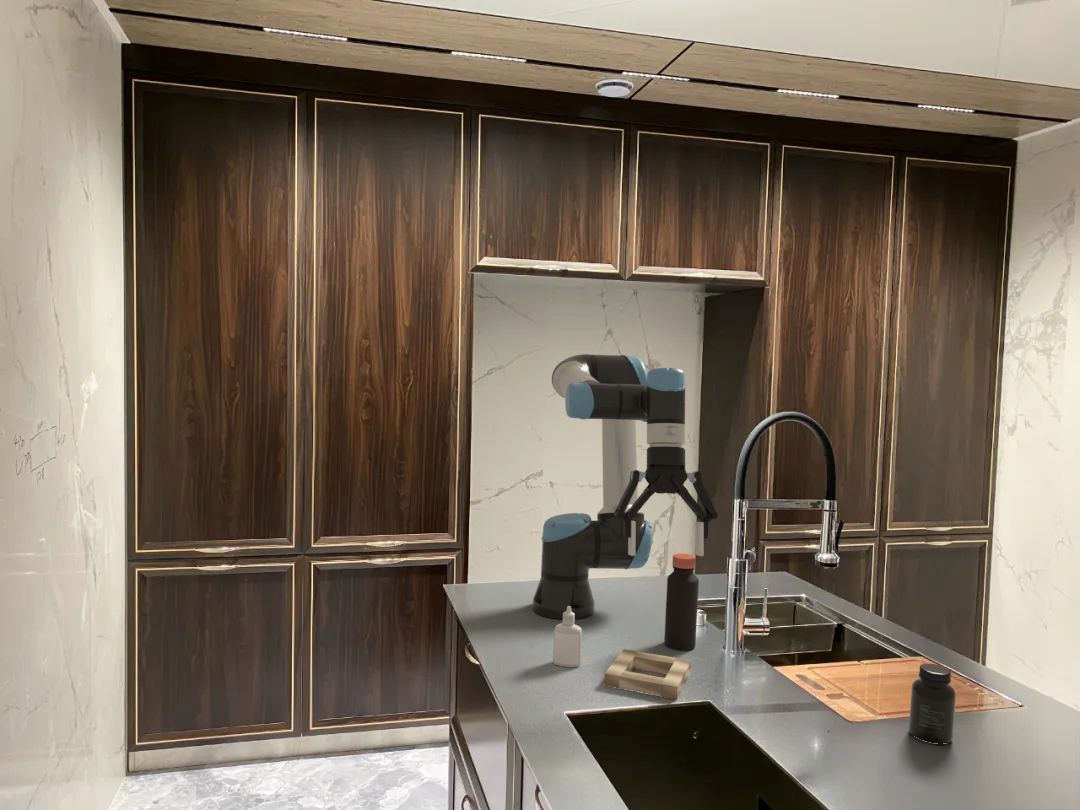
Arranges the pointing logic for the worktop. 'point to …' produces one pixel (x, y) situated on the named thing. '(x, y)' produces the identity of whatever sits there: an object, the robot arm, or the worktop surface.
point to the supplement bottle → (932, 705)
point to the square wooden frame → (664, 687)
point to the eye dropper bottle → (567, 641)
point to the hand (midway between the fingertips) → (665, 555)
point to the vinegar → (681, 604)
